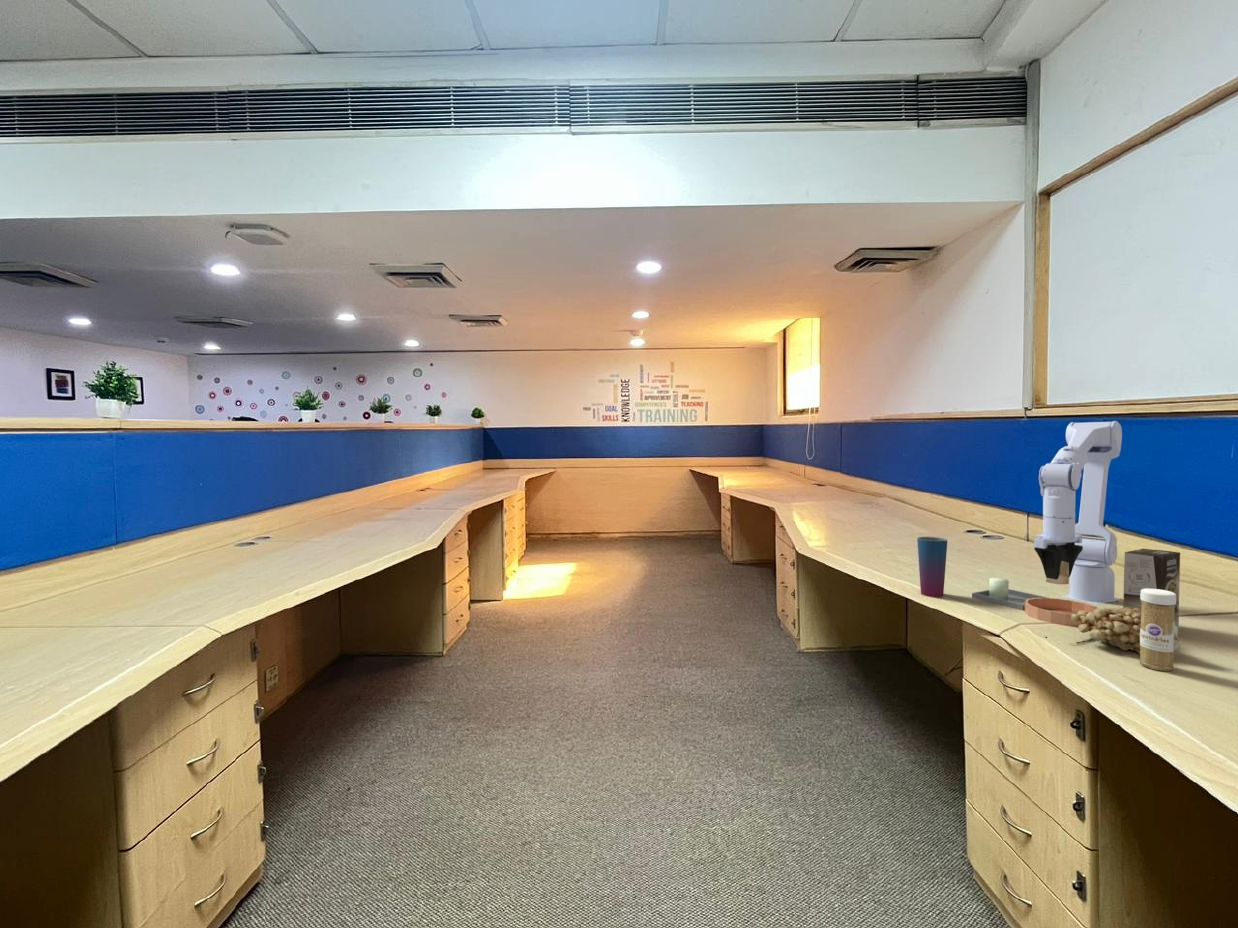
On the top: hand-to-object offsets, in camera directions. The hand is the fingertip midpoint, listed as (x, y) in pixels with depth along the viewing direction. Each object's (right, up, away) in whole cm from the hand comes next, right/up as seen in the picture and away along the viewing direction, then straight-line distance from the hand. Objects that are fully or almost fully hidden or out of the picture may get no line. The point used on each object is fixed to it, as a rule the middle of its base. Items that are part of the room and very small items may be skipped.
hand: (1058, 577), depth 128 cm
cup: (-18, -9, +18) cm, 27 cm away
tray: (-3, -9, +12) cm, 15 cm away
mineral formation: (-2, -10, -18) cm, 20 cm away
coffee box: (+14, -9, -8) cm, 18 cm away
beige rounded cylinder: (0, -1, 0) cm, 1 cm away
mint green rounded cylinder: (-4, -8, +14) cm, 17 cm away
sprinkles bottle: (-4, -10, -28) cm, 30 cm away
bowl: (0, -9, -1) cm, 9 cm away
